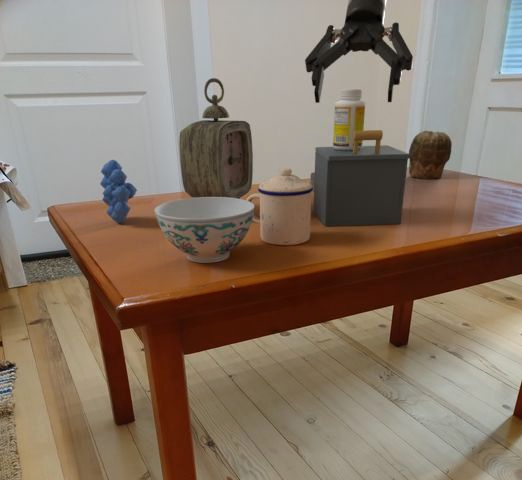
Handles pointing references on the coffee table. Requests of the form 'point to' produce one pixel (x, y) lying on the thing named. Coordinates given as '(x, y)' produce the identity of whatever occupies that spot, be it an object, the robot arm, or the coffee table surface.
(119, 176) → the grapes
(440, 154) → the brown rounded lump
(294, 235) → the teacup with lid
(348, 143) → the supplement bottle
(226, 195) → the tabletop clock
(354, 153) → the chest lid
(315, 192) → the chest
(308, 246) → the coffee table surface
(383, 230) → the coffee table surface
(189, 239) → the chinaware
